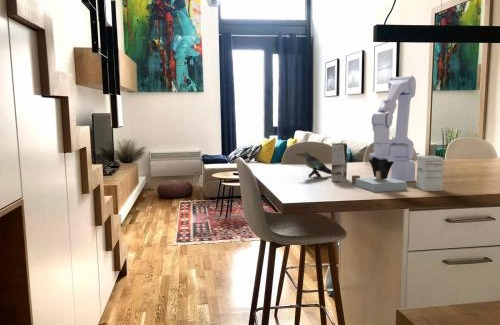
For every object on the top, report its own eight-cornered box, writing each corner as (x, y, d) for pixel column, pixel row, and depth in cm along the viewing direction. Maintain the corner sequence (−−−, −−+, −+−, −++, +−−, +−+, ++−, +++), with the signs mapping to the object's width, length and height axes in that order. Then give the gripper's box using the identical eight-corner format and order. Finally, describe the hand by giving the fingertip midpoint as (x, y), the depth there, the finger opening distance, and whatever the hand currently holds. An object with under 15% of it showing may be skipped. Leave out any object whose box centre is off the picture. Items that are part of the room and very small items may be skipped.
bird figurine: (328, 172, 202) (311, 137, 195) (341, 175, 193) (324, 139, 186) (308, 188, 198) (290, 154, 191) (321, 192, 189) (302, 156, 182)
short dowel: (357, 183, 175) (357, 175, 175) (361, 184, 172) (361, 176, 172) (350, 183, 175) (350, 175, 174) (354, 185, 172) (354, 176, 171)
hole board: (386, 183, 173) (386, 176, 173) (406, 189, 159) (406, 182, 159) (355, 185, 170) (355, 178, 169) (373, 191, 156) (373, 183, 156)
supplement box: (415, 187, 164) (416, 155, 163) (434, 187, 164) (436, 155, 163) (422, 191, 157) (424, 157, 155) (442, 190, 157) (444, 157, 155)
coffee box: (346, 182, 179) (347, 144, 177) (331, 181, 180) (331, 144, 178) (346, 178, 188) (346, 142, 186) (331, 178, 189) (332, 142, 187)
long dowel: (381, 186, 166) (381, 170, 166) (385, 188, 163) (386, 171, 163) (374, 187, 166) (374, 171, 165) (378, 188, 163) (379, 172, 162)
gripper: (362, 142, 168) (362, 175, 170) (382, 144, 154) (381, 181, 156) (378, 141, 170) (377, 174, 172) (399, 144, 156) (398, 180, 158)
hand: (380, 177), depth 164 cm, fingers open, 5 cm apart
